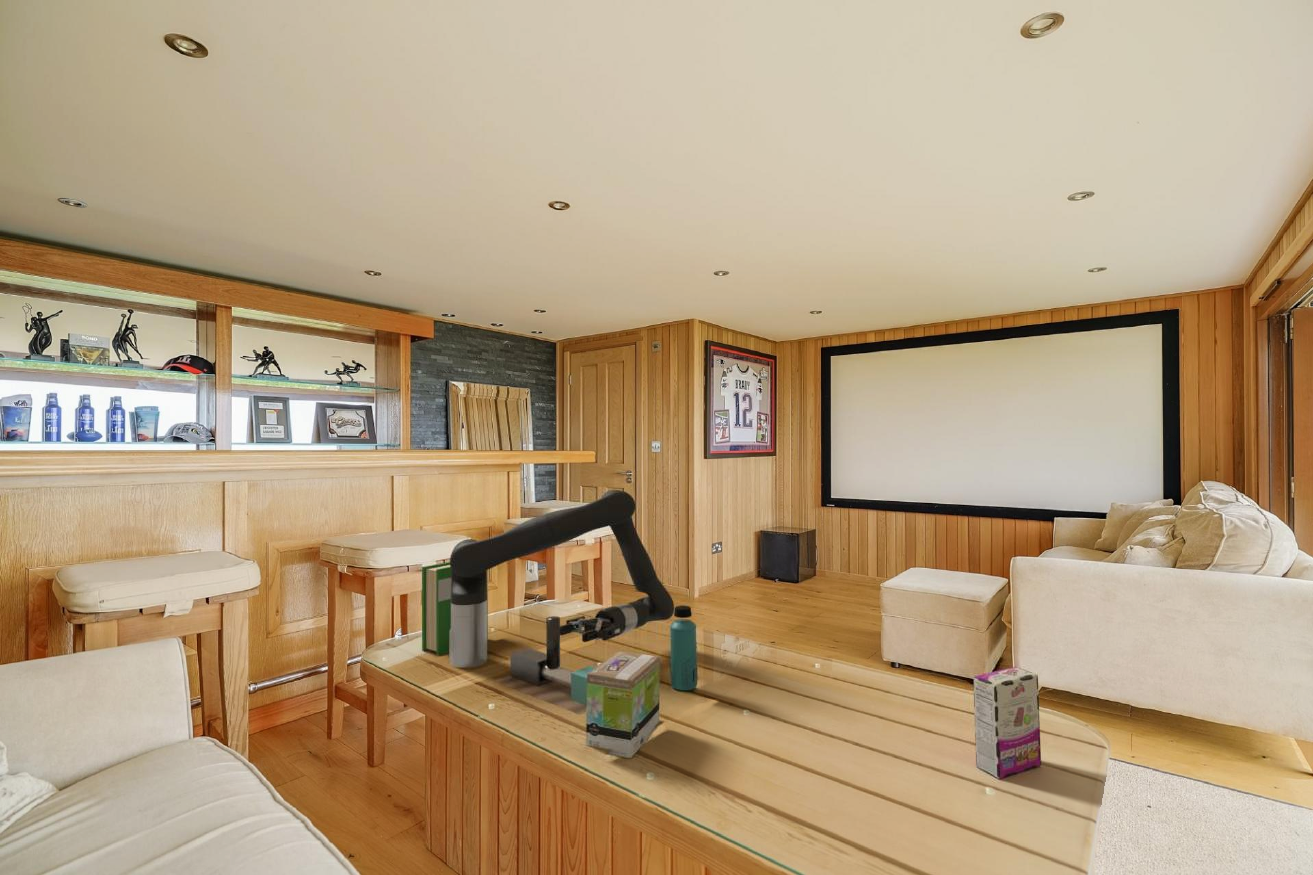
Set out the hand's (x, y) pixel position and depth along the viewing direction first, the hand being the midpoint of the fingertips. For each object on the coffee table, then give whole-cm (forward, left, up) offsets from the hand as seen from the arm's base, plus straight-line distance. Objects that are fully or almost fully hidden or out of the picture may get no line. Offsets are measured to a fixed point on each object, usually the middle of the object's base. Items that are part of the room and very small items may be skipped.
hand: (571, 634), depth 152 cm
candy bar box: (+91, +22, -12) cm, 94 cm away
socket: (+13, -6, -11) cm, 18 cm away
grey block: (-8, -6, -11) cm, 14 cm away
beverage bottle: (+25, +13, -12) cm, 31 cm away
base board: (+2, -6, -12) cm, 13 cm away
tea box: (+30, -13, -12) cm, 34 cm away
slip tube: (-2, -6, -10) cm, 11 cm away
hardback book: (-49, -1, -12) cm, 51 cm away
